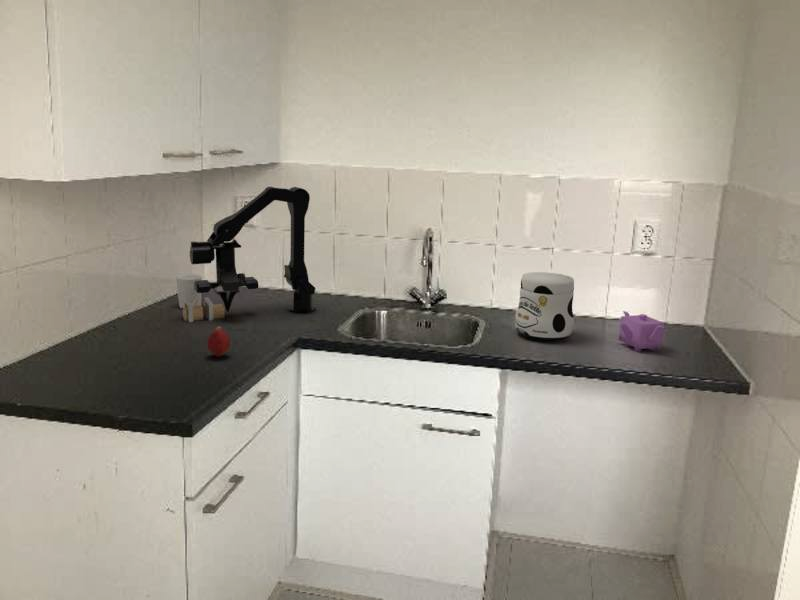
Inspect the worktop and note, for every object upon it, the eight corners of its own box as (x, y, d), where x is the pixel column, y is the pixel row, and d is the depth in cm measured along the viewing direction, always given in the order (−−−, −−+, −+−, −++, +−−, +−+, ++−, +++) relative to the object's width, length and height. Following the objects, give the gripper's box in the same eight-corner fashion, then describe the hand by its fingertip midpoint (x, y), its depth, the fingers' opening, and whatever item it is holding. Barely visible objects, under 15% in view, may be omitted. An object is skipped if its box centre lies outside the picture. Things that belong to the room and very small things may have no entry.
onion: (218, 361, 181) (218, 331, 179) (202, 357, 184) (201, 327, 182) (235, 356, 186) (234, 326, 184) (219, 351, 189) (218, 322, 187)
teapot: (599, 340, 213) (603, 308, 211) (636, 337, 218) (640, 306, 215) (638, 358, 197) (642, 324, 195) (677, 355, 201) (681, 321, 199)
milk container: (506, 338, 212) (510, 278, 207) (522, 325, 227) (527, 269, 223) (565, 347, 204) (570, 286, 200) (577, 333, 220) (583, 275, 216)
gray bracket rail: (206, 311, 228) (206, 295, 227) (213, 320, 218) (212, 303, 217) (183, 313, 225) (182, 296, 224) (189, 322, 215) (188, 304, 214)
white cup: (198, 310, 230) (197, 279, 227) (174, 309, 230) (173, 278, 227) (205, 304, 237) (204, 274, 235) (181, 303, 237) (180, 273, 235)
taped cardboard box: (222, 314, 225) (221, 303, 224) (224, 317, 222) (224, 306, 221) (182, 317, 220) (182, 306, 219) (184, 321, 217) (184, 309, 216)
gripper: (199, 269, 209) (201, 320, 213) (262, 265, 217) (263, 315, 221) (192, 262, 219) (195, 311, 223) (253, 258, 227) (254, 306, 230)
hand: (227, 311), depth 224 cm, fingers closed
